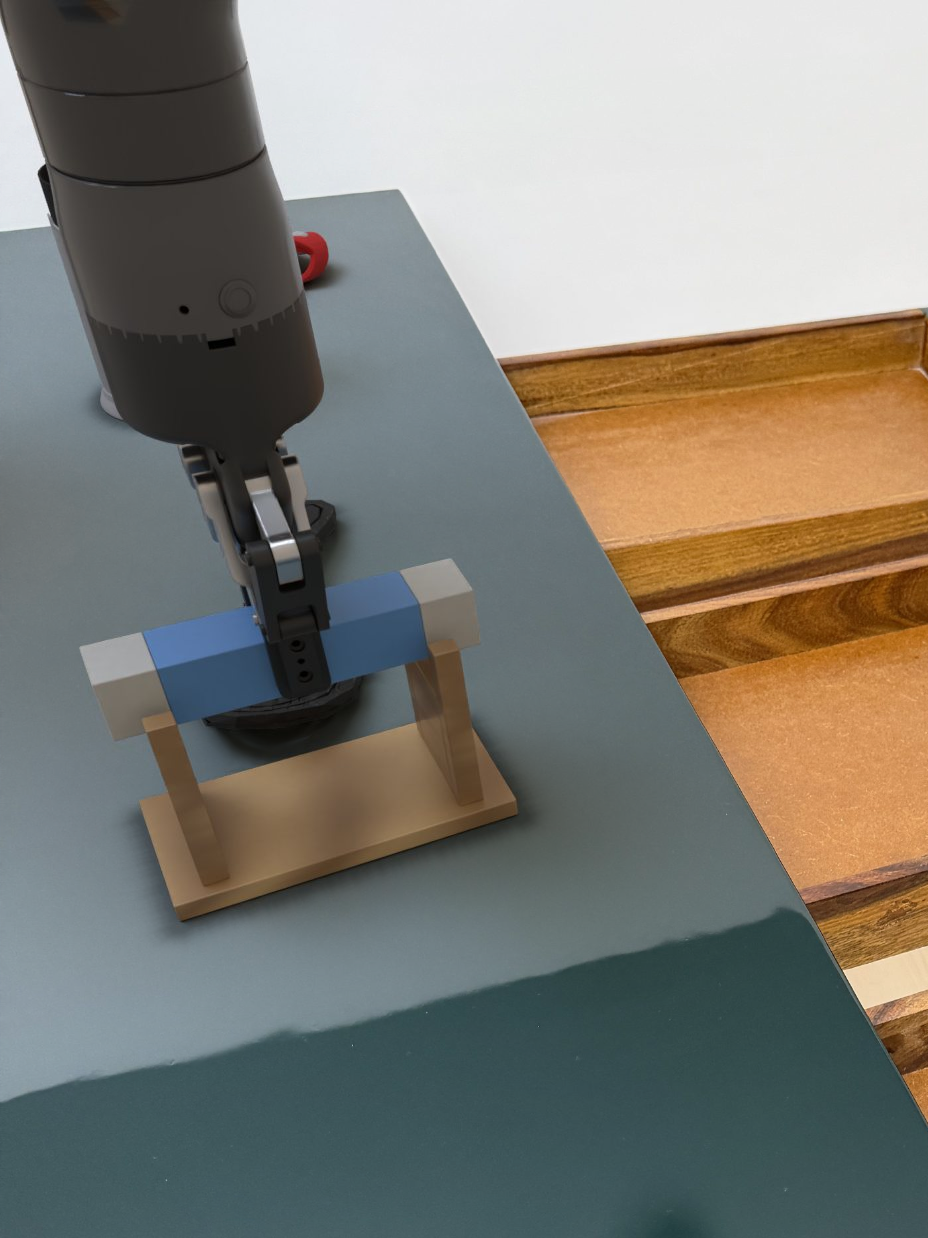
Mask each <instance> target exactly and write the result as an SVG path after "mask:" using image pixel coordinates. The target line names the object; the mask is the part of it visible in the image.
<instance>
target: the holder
mask: <svg viewBox="0 0 928 1238" xmlns="http://www.w3.org/2000/svg"><path fill="white" fill-rule="evenodd" d="M427 649H428V654H429V656H428V658H427V659H423V660H419V661H415V662H412V663H408V664H404V668H405V673H406V678H407V684H408V689H409V694H410V699H411V704H412V709H413V710H412V711H413V715H414V719H415V722H412V723H409V724H406V725H405V724H404V725H402V726H397V727H394V728H391V729H388V730H383V731H379V732H376V733H373V734H370V735H366V736H363V737H359V738H356V739H351V740H348V741H345V742H341V743H338V744H333V745H331V746H327V747H324V748H319V749H316V750H313V751H310V752H306V753H303V754H298V755H295V756H292V757H288V758H284V759H281V760H277V761H273V762H269V763H266V764H263V765H260V766H256V767H252V768H248V769H246V770H242V771H238V772H234V773H231V774H227V775H224V776H221V777H217V778H213V779H210V780H207V781H202V782H199V783H198V781H197V779H196V776H195V773H194V770H193V767H192V764H191V761H190V758H189V756H188V752H187V749H186V747H185V744H184V741H183V738H182V735H181V733H180V729H179V727H178V726H179V725H177V723H176V721H175V718H174V716H173V713H172V711H169V712H165V713H161V714H157V715H154V716H150V717H146V718H142V723H143V726H144V728H145V731H146V733H145V734H146V737H147V740H148V742H149V745H150V747H151V750H152V753H153V756H154V758H155V761H156V763H157V767H158V769H159V772H160V775H161V777H162V780H163V783H164V786H165V788H166V791H167V792H164V793H161V794H157V795H152V796H150V797H149V796H148V797H147V798H142V799H140V800H138V805H139V807H140V810H141V813H142V816H143V819H144V823H145V826H146V829H147V831H148V835H149V837H150V840H151V843H152V846H153V849H154V852H155V855H156V858H157V862H158V864H159V868H160V870H161V873H162V876H163V879H164V882H165V885H166V888H167V892H168V894H169V897H170V900H171V903H172V906H173V909H174V911H175V914H176V916H177V919H178V921H180V922H183V921H186V920H189V919H191V918H195V917H199V916H202V915H204V914H208V913H211V912H214V911H217V910H220V909H224V908H227V907H230V906H233V905H236V904H239V903H243V902H245V901H248V900H252V899H255V898H258V897H261V896H264V895H268V894H271V893H274V892H277V891H280V890H283V889H287V888H290V887H293V886H296V885H299V884H303V883H305V882H309V881H312V880H314V879H318V878H322V877H324V876H328V875H331V874H333V873H337V872H340V871H343V870H347V869H350V868H353V867H356V866H359V865H363V864H366V863H369V862H371V861H375V860H378V859H382V858H384V857H387V856H391V855H394V854H397V853H400V852H403V851H406V850H409V849H413V848H416V847H418V846H422V845H425V844H429V843H432V842H434V841H435V842H436V841H438V840H441V839H444V838H447V837H450V836H454V835H457V834H460V833H463V832H467V831H469V830H473V829H475V828H479V827H482V826H486V825H488V824H491V823H494V822H498V821H500V820H504V819H507V818H510V817H513V816H516V815H518V814H519V807H518V801H517V799H516V796H515V795H514V793H513V792H512V790H511V789H510V787H509V785H508V784H507V782H506V780H505V778H504V777H503V776H502V774H501V772H500V770H499V769H498V767H497V765H496V764H495V762H494V760H493V759H492V757H491V755H490V754H489V753H488V750H487V749H486V747H485V745H484V743H483V742H482V740H481V739H480V737H479V735H478V734H477V732H476V731H475V729H474V728H473V724H472V718H471V712H470V711H471V710H470V705H469V699H468V693H467V686H466V680H465V675H464V668H463V662H462V656H461V650H459V648H458V646H457V645H456V643H455V642H454V640H453V639H452V638H451V639H447V640H443V641H439V642H435V643H431V644H428V645H427Z"/></svg>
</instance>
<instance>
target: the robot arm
mask: <svg viewBox="0 0 928 1238" xmlns="http://www.w3.org/2000/svg"><path fill="white" fill-rule="evenodd" d="M0 23H1V26H2V30H3V32H4V36H5V39H6V43H7V46H8V49H9V50H8V51H9V52H10V56H11V59H12V62H13V66H14V68H15V71H16V75H17V78H18V82H19V85H20V88H21V91H22V95H23V97H24V101H25V104H26V107H27V110H28V113H29V116H30V120H31V122H32V126H33V129H34V132H35V134H36V138H37V141H38V144H39V148H40V151H41V153H42V157H43V158H44V162H45V163H44V164H46V167H47V170H48V174H49V179H50V184H51V189H52V195H53V201H54V207H55V213H56V218H57V223H58V227H59V231H60V234H61V238H62V241H63V245H64V248H65V251H66V255H67V258H68V261H69V264H70V267H71V270H72V273H73V276H74V279H75V282H76V285H77V289H78V292H79V295H80V298H81V301H82V304H83V307H84V311H85V314H86V317H87V320H88V323H89V326H90V329H91V332H92V335H93V338H94V341H95V344H96V347H97V350H98V354H99V357H100V360H101V363H102V366H103V369H104V372H105V375H106V378H107V381H108V385H109V388H110V391H111V394H112V397H113V400H114V403H115V406H116V409H117V411H118V413H119V415H120V416H121V417H122V419H123V420H122V421H124V423H125V424H127V425H128V426H129V427H130V428H131V429H133V430H134V431H136V432H137V433H138V434H141V435H142V436H145V437H148V438H149V439H150V438H151V439H153V440H156V441H159V442H163V443H167V444H172V445H177V451H178V454H179V457H180V461H181V465H182V468H183V470H184V472H185V475H186V477H187V480H188V481H189V484H190V487H191V488H192V489H193V490H195V492H196V496H197V499H198V503H199V505H200V509H201V512H202V516H203V519H204V522H205V524H206V526H207V529H208V530H209V534H210V536H211V538H212V540H213V541H214V542H216V543H217V544H219V548H220V550H221V554H222V557H223V561H224V564H225V568H226V569H227V571H228V573H229V575H230V576H231V578H232V580H233V581H234V583H235V584H237V585H239V588H240V592H241V597H242V600H243V602H244V603H245V606H244V607H248V606H252V608H253V612H254V614H252V619H253V622H254V625H255V626H258V627H259V629H260V631H261V634H262V636H263V640H264V643H265V647H266V650H267V654H268V657H269V661H270V665H271V668H272V672H273V675H274V679H275V682H276V686H277V688H278V690H279V692H280V694H281V696H282V697H284V698H286V699H295V698H299V697H302V696H306V695H310V694H314V693H317V692H321V691H324V690H326V689H327V688H328V687H329V686H330V685H331V676H330V672H329V668H328V664H327V660H326V656H325V652H324V648H323V644H322V640H321V636H320V631H324V630H328V629H330V623H329V620H331V617H330V614H329V611H328V607H327V598H326V590H325V588H326V584H325V575H324V568H323V560H322V559H323V558H322V553H321V552H322V551H323V546H322V545H323V544H322V545H321V542H320V540H319V538H318V537H317V538H316V537H315V534H314V532H313V530H312V529H311V528H310V524H309V520H308V516H307V513H306V509H305V501H306V500H308V496H309V491H308V487H307V484H306V480H305V476H304V472H303V468H302V465H301V462H300V460H299V458H298V455H297V454H296V453H291V454H289V452H288V447H287V444H286V443H287V442H286V439H285V437H284V434H285V433H286V432H287V431H288V430H289V429H291V428H293V426H295V425H296V424H301V423H302V422H303V421H304V420H306V419H307V418H309V416H311V415H312V413H314V411H316V409H317V408H318V407H319V405H320V403H321V401H322V399H323V397H324V391H325V380H324V376H323V371H322V366H321V361H320V357H319V353H318V347H317V343H316V338H315V333H314V330H313V325H312V320H311V315H310V314H311V313H310V309H309V304H308V300H307V296H306V295H307V294H306V291H305V290H306V289H305V286H304V283H303V281H302V276H301V275H302V271H301V267H300V266H301V265H300V263H299V258H298V255H297V252H296V248H295V243H294V238H293V233H292V232H293V230H292V224H291V221H290V216H289V213H288V208H287V205H286V202H285V199H284V196H283V194H282V191H281V188H280V185H279V182H278V179H277V177H276V174H275V171H274V168H273V165H272V162H271V159H270V155H269V150H268V147H267V144H266V139H265V135H264V130H263V125H262V121H261V116H260V112H259V107H258V102H257V101H258V100H257V97H256V93H255V88H254V84H253V79H252V74H251V70H250V64H249V61H248V55H247V51H246V46H245V41H244V38H243V33H242V29H241V24H240V17H239V0H0ZM293 529H294V533H293Z"/></svg>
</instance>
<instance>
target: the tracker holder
mask: <svg viewBox="0 0 928 1238" xmlns="http://www.w3.org/2000/svg"><path fill="white" fill-rule="evenodd" d="M292 233H293V238H294V243H295V248H296V252H297V256H303V255H307V256H309V259H310V260H309V264H308V266H307V269H305V271H304V272H303V273H301V276H302V281H303V284H304V283H307V282H309V281H310V282H311V281H312V280H314V279H316V278H318V277H320V275H322V274H323V273H324V271H325V269H326V268H327V265H328V262H329V258H330V255H329V247H328V243H327V241H326V240H325V238H324V237H323V236H322V235H321V234H319V233H318V232H315V231H302V230H301V231H300V230H297V231H296V230H295V231H292Z"/></svg>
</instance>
